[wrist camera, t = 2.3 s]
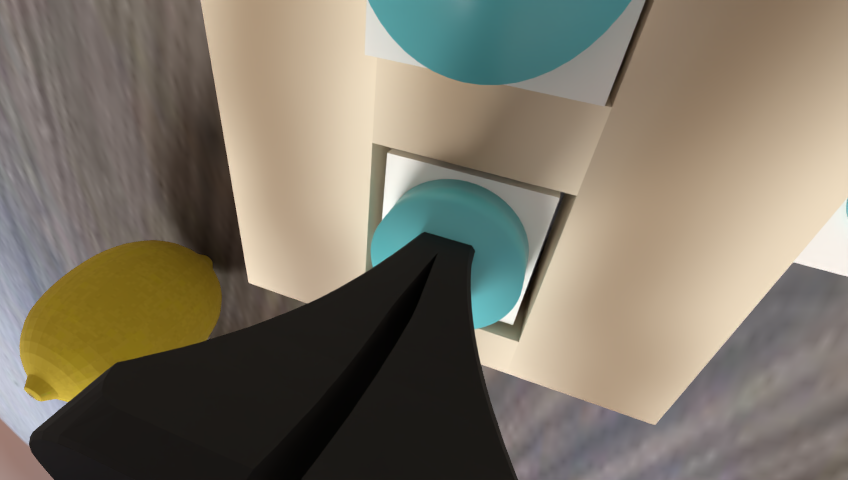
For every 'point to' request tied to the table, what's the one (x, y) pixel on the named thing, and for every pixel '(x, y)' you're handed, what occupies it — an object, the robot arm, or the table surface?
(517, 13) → the button mid
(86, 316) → the lemon
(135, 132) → the table surface
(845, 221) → the card
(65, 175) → the table surface
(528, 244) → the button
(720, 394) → the table surface
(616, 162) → the button board
